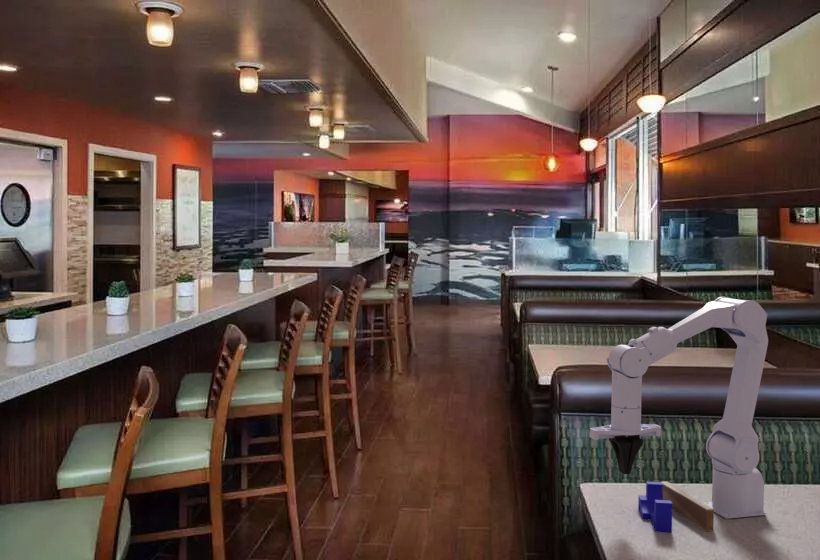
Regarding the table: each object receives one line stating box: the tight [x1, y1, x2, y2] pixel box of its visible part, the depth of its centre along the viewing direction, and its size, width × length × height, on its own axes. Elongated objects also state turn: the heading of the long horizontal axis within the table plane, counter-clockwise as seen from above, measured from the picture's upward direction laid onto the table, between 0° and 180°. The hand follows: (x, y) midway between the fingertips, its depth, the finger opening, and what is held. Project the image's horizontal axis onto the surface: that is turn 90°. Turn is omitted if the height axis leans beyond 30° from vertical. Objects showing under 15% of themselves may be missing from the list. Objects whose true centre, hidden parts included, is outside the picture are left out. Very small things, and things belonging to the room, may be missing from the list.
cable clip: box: [637, 481, 673, 534], centre depth 144 cm, size 12×4×6 cm, turn 170°
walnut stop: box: [660, 480, 715, 532], centre depth 146 cm, size 2×16×4 cm, turn 13°
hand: (624, 472), depth 144 cm, fingers closed
